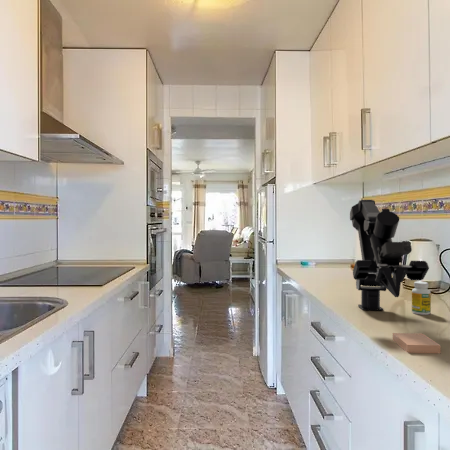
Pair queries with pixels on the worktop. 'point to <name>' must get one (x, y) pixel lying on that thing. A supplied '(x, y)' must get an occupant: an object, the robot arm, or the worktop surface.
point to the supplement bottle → (421, 298)
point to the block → (416, 343)
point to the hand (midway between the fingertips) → (397, 296)
